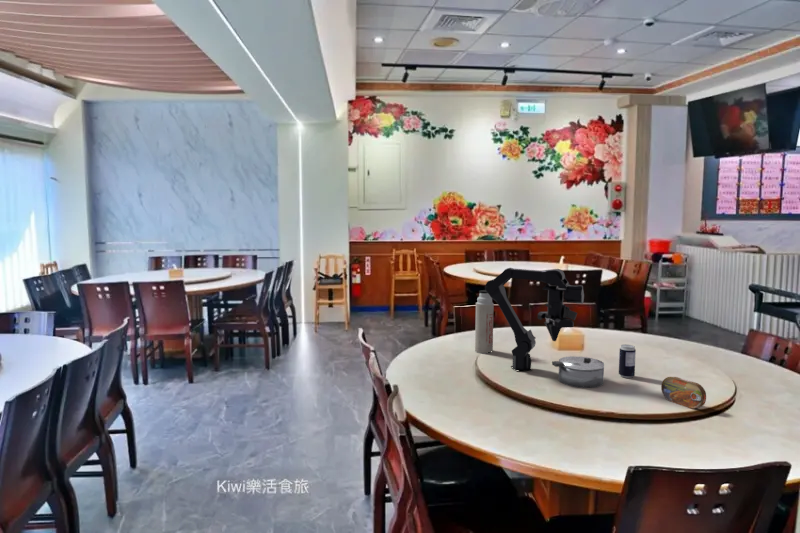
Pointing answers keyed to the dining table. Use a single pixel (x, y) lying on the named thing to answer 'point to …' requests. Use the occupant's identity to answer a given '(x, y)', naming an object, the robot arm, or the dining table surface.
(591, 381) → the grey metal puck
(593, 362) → the cooker lid
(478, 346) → the thermos bottle
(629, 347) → the beverage can
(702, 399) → the tin
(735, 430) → the dining table surface
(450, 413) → the dining table surface
